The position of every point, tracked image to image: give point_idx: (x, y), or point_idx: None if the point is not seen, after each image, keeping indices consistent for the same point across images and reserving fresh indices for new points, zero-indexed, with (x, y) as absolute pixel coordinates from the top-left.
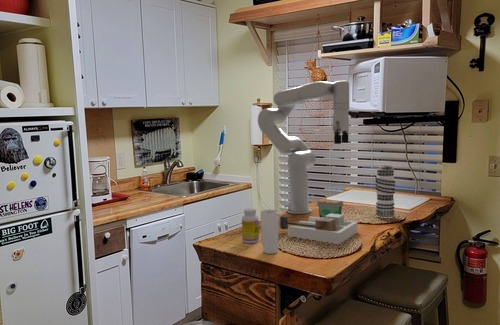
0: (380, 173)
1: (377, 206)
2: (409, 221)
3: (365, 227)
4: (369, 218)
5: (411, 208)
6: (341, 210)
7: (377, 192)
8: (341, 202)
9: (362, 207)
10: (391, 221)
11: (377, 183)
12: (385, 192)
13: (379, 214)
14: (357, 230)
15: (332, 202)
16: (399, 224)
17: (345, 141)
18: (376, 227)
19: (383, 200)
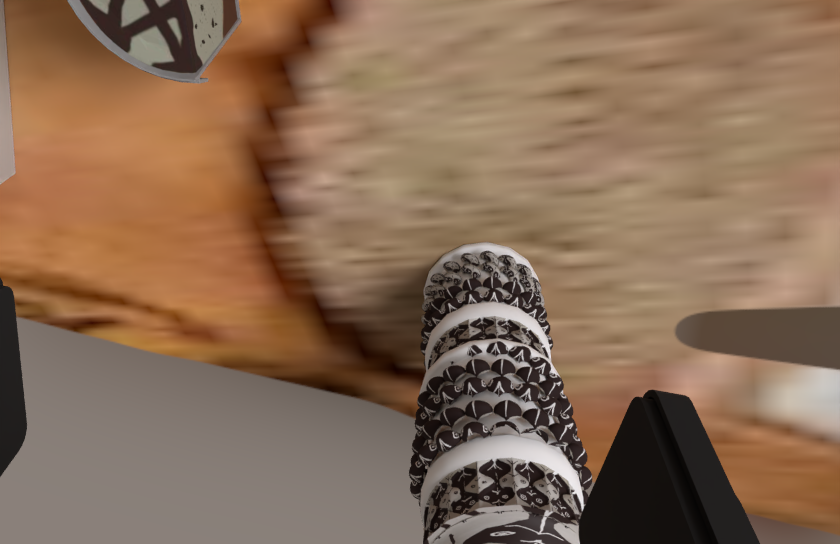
0: (441, 503)
1: (466, 290)
2: (405, 409)
3: (161, 204)
4: (421, 206)
5: (783, 421)
6: (215, 52)
7: (469, 354)
8: (166, 75)
9: (820, 121)
10: (375, 329)
11: (498, 401)
12: (417, 413)
13: (434, 278)
14: (8, 177)
15: None
16: (314, 367)
17: (601, 503)
18: (190, 262)
19: (431, 359)
